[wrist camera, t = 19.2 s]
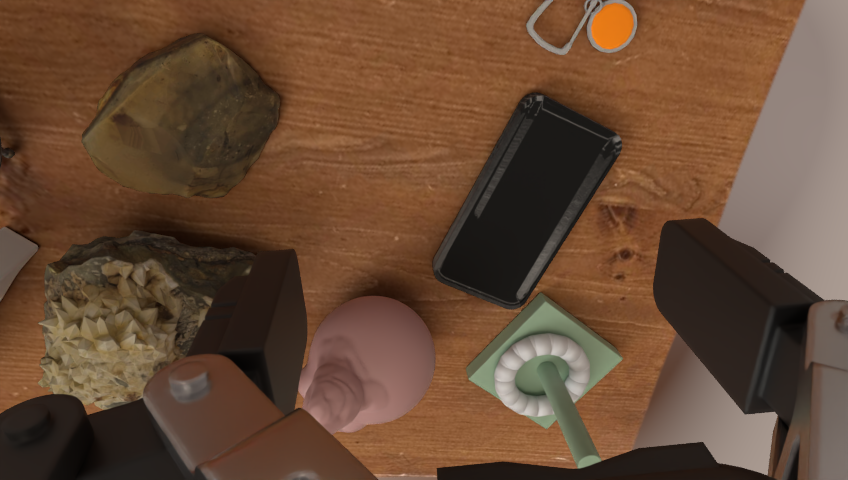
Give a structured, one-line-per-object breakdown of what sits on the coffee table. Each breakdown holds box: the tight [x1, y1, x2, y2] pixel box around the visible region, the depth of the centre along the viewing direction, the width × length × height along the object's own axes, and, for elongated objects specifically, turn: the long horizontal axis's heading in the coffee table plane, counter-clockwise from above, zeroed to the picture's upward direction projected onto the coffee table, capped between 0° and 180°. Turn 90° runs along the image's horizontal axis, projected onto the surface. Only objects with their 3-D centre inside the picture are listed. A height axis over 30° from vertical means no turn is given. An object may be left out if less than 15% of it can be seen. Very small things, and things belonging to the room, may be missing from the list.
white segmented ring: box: [494, 333, 590, 417], centre depth 45 cm, size 8×8×2 cm
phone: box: [433, 93, 622, 309], centre depth 40 cm, size 8×1×15 cm
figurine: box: [298, 296, 435, 434], centre depth 39 cm, size 9×11×12 cm
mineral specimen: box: [38, 230, 256, 410], centre depth 38 cm, size 14×13×10 cm
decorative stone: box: [82, 33, 280, 198], centre depth 35 cm, size 10×9×4 cm
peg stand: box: [466, 292, 623, 469], centre depth 42 cm, size 9×9×12 cm
